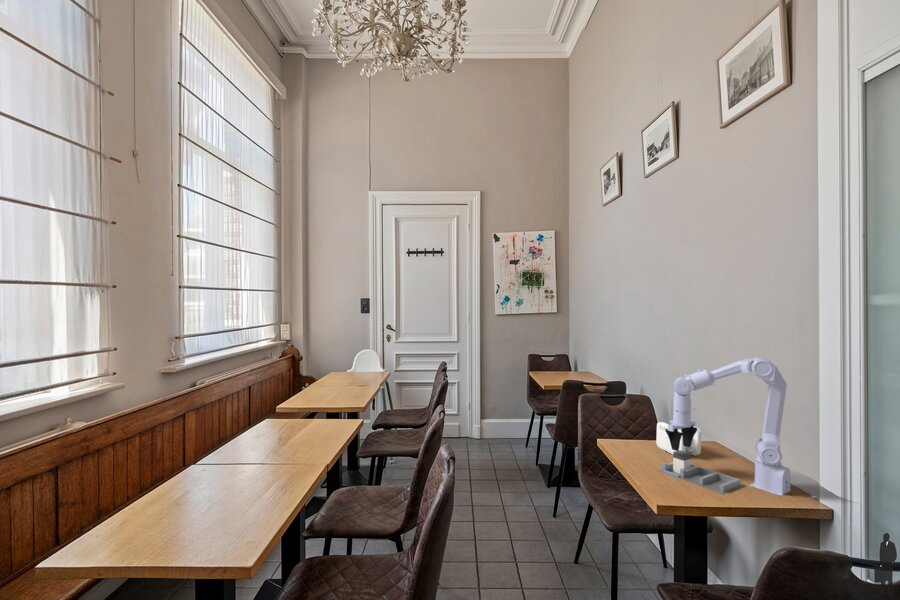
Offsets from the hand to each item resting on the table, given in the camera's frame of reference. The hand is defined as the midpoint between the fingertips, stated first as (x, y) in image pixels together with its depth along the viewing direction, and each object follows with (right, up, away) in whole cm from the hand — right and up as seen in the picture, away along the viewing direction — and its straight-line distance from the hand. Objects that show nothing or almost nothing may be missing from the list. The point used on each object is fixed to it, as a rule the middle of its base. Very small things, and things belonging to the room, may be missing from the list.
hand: (681, 448), depth 165 cm
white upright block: (0, -9, 0) cm, 9 cm away
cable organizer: (+10, -10, +23) cm, 27 cm away
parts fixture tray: (+3, -9, -6) cm, 11 cm away
